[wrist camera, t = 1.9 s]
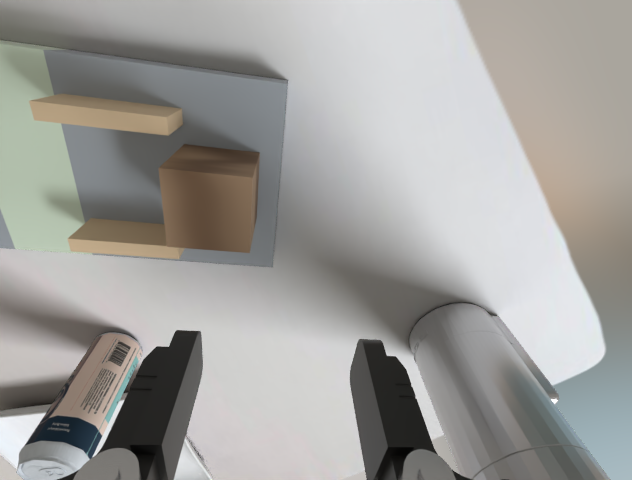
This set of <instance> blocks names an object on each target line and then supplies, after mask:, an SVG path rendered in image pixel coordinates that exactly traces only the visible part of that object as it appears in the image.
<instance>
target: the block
mask: <svg viewBox="0 0 632 480" xmlns="http://www.w3.org/2000/svg"><path fill="white" fill-rule="evenodd" d="M259 161H260V153H259V152H250V151H241V150H232V149H224V148H215V147H206V146H197V145H188V144H184V145H183V146H182V147H181V148H179V149H178V150H177V151H176V152H175V153H174V154H173V155H172V156H171V157H170V158H169V159H168V160H167V161H165V162H164V163H163V164H162V165H161V166H160V167H159V168H158V169H159V178H160V187H161V196H162V206H163V215H164V224H165V234H166V243H167V247H175V248H189V249H202V250H215V251H228V252H241V253H250V249H251V244H252V239H253V234H254V229H255V224H256V219H257V202H258V181H259Z"/></svg>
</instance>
